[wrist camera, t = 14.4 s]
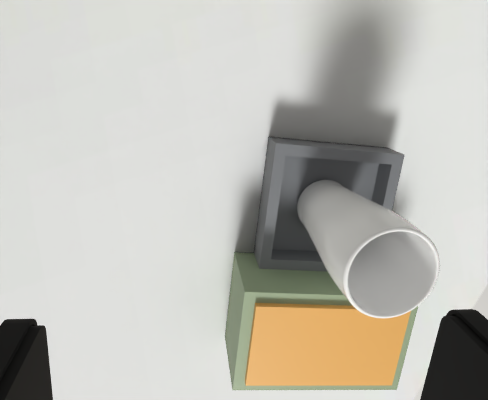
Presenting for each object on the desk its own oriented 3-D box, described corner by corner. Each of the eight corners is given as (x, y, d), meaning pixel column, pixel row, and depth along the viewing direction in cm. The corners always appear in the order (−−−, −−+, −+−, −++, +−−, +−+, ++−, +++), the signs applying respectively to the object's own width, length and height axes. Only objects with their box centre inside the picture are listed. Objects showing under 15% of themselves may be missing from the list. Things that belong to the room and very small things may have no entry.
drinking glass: (291, 241, 42) (344, 328, 28) (285, 176, 40) (340, 235, 26) (355, 230, 43) (440, 311, 29) (353, 166, 41) (444, 218, 27)
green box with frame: (247, 134, 40) (263, 152, 32) (405, 149, 42) (458, 169, 34) (224, 336, 46) (233, 395, 38) (363, 339, 48) (399, 394, 40)
